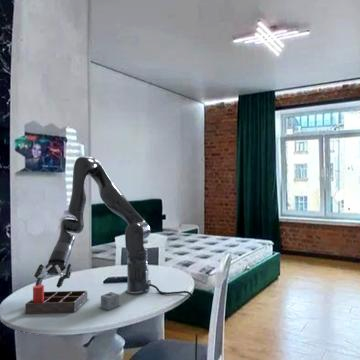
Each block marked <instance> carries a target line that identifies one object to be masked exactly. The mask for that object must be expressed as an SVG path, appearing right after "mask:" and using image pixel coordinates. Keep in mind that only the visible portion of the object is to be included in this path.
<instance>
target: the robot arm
mask: <svg viewBox="0 0 360 360" xmlns="http://www.w3.org/2000/svg"><path fill="white" fill-rule="evenodd" d="M72 168H73V169H72V184H71V185H72V186H71V187H72V188H71V194H70V195H71V196H70V200H69V204H68V208H67V214H69V215H71V216H73V217H75V218H72V217H64V218H63V219H61V222H60V226H59V227H60V228H59V230H60V231H59V236H58V239H57V242H56V243H55V245H54V246H53V249H52V252H51V254H50V256H49V258H48V262H47V264H45V265H43V264H39V265H38V267H37V269H36V270H35V273H34V275H33V276H34V278H35V279H36V281H35V284H34V286H36V285H42V283H43V280H45V278H49V276H59V278H58V279H57V280H58V281H57V283H56V287H57V289H60V288H61V287H62V286H63V284H64V282H65V280H67V279H70V278H71V274H72V272H73V271H72V270H73V268H74V267H73V265H72V264H71V263H68V261H69V259H70V256H71V253H72V249H73V246H74V244H75V241H76V237H75V235H74V234H76V235H77V234H81V233H82V232H83V231H84V228H85V222H84V211H85V207H86V203H87V195H86V190H85V181H86V178H87V176H90V177H91V178H92V180H94V182H95V184H96V185H97V187H98V194H99V197H100V199H101V201H102V202H103V203H104V204H105V206H106V207H107V208H108V209H109V210H110V211H111V212H112V213H114V214H115V215H117V216H119V217H120V218H121V219H123V220H124V221H125V222H126V223H127V225H126V228H125V230H124V231H125V232H124V240H125V241H124V242H125V243H124V244H125V245H124V246H125V250H126V255H127V257H126V259H127V261H126V262H127V263H126V266H127V268H126V270H127V271H126V272H127V276H126V277H127V279H126V286H127V287H126V292H127V293H128V294H131V295H138V294H143V293H147V291H148V290H149V289H150V288H151V287H152V288H154V289H155V290H156V291H157V292H158V293H159V294H161V295H179V294H187V295H190V296H191V297H194V295H193V293H192V292H190V291H188V290H180V291H169V292H168V291H167V292H166V291H161V290H160V289H159V288H158V286H156V285H154V284H152V280H151V279H149V268H148V251H149V250H148V248H147V247H145V245H144V240H146V239H147V238H148V237H150V235H151V227H150V225H149V224H148V222H147V221H146V220H145V219H144V218H143V217H142V216H141V215H140V213H138V212H137V211H136V209H135V208H134V207H133V205H132V204H131V203H130V202H129V201H128V200H127V198H126V197H125V196H124V194H123V192H122V191H121V190H120V189H119V188H118V186H117V185H116V184H115V183H114V181H113V180H112V179H111V178H110V176H109V174H107V172H106V170H105V169H104V167H103V166H102V163H101V162H100V161H99V160H98V159H97V158H95V157H92V156H79V157H77V158H76V159H75V160H74V163H73V167H72ZM63 271H65V274H64V273H63ZM194 341H195V343H194V347H195V348H194V360H198V333H195V339H194Z"/></svg>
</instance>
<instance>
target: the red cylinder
mask: <svg viewBox="0 0 360 360" xmlns="http://www.w3.org/2000/svg"><path fill="white" fill-rule="evenodd" d="M44 292H45V284H41V285H34V286H33V287H32V299H33V303H43V302H44Z"/></svg>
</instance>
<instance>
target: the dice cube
mask: <svg viewBox="0 0 360 360" xmlns="http://www.w3.org/2000/svg"><path fill="white" fill-rule="evenodd" d="M119 306H120V294H119V293H116V292H113V291H110V292H108V293H105V294H102V295H100V308H101V309H104V310H106V311H111V310H113V309H115V308H117V307H119Z"/></svg>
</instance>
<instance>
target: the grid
mask: <svg viewBox="0 0 360 360" xmlns="http://www.w3.org/2000/svg"><path fill="white" fill-rule="evenodd" d="M87 300H88V290H64V291H63V290H62V291H61V290H60V291H57V290H56V291H44V302H43V303H33V298H31V299H30V300H29V301H27V302H26V303H25V304H24V305H25V314H54V313H55V314H56V313H57V314H58V313H59V314H60V313H61V314H62V313H75V312H77V310H78V309H79V308H80V307H82V305H83V304H85V302H87Z"/></svg>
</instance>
